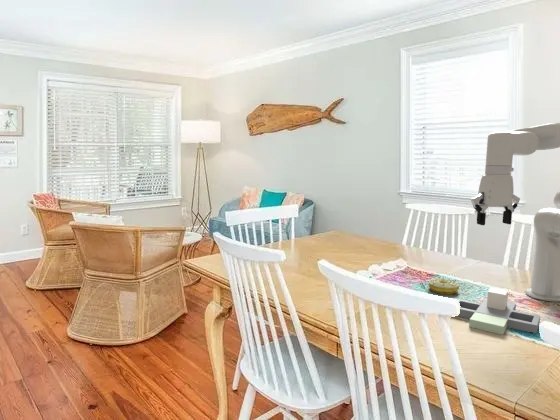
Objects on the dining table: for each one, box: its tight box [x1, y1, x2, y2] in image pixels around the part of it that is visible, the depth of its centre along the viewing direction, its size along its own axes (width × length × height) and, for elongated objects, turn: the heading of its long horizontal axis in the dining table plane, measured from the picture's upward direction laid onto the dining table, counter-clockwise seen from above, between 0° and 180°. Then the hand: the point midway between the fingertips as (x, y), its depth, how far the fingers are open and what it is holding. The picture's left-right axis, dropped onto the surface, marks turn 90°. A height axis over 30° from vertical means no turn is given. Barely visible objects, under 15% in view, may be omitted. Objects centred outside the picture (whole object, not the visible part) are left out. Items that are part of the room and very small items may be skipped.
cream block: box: [486, 287, 509, 310], centre depth 137 cm, size 5×5×5 cm
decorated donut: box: [428, 277, 460, 296], centre depth 159 cm, size 10×11×4 cm
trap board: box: [456, 296, 541, 336], centre depth 134 cm, size 23×24×2 cm
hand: (493, 224), depth 140 cm, fingers open, 9 cm apart
